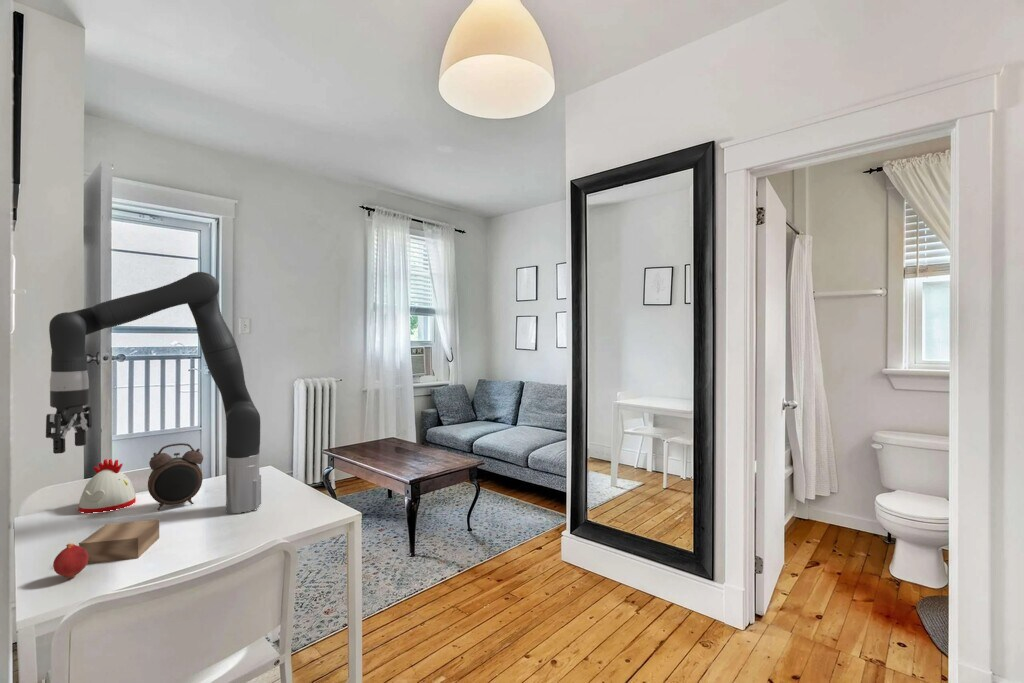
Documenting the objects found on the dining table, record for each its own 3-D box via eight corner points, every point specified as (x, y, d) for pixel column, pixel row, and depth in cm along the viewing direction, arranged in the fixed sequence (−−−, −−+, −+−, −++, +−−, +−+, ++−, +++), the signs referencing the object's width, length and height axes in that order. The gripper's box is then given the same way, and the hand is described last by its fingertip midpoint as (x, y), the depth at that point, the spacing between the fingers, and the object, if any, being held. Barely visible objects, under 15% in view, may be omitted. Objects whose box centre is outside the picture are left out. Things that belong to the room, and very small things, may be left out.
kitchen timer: (114, 513, 146) (114, 465, 145) (66, 514, 144) (66, 465, 144) (145, 498, 159) (145, 453, 159) (102, 498, 158) (102, 454, 158)
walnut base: (159, 537, 128) (159, 519, 128) (138, 558, 117) (138, 537, 117) (106, 543, 125) (106, 524, 125) (79, 564, 114) (79, 543, 114)
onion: (68, 571, 110) (68, 537, 110) (95, 570, 111) (94, 536, 110) (46, 584, 104) (45, 548, 104) (74, 583, 105) (74, 547, 105)
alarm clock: (148, 514, 145) (147, 449, 144) (147, 507, 150) (147, 445, 150) (204, 504, 154) (204, 443, 154) (202, 498, 159) (201, 439, 159)
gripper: (69, 391, 119) (69, 455, 120) (102, 385, 133) (102, 442, 133) (32, 391, 118) (33, 456, 118) (70, 385, 131) (70, 443, 132)
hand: (70, 449), depth 126 cm, fingers open, 8 cm apart
